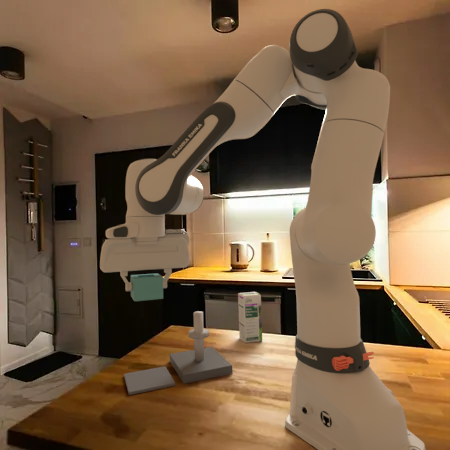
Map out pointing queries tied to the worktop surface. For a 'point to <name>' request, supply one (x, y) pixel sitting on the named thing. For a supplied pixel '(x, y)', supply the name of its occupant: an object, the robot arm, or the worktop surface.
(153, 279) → the collar
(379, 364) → the worktop surface
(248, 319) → the syrup box
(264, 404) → the worktop surface
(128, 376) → the mat
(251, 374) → the worktop surface
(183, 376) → the stand
